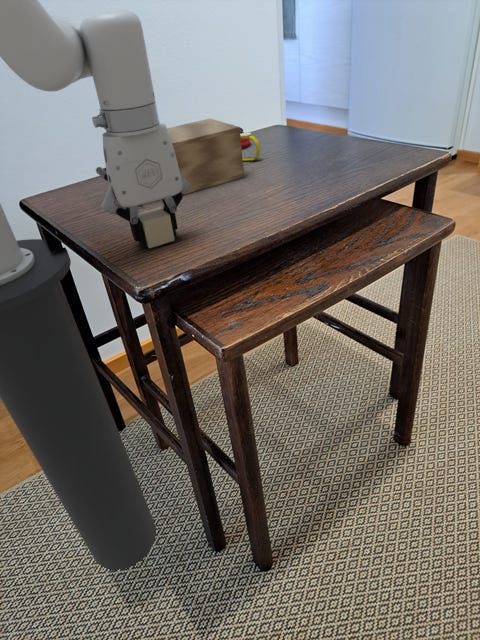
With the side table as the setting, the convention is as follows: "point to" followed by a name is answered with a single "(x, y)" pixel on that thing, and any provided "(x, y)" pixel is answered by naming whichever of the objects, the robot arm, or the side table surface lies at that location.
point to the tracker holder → (244, 140)
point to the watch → (249, 135)
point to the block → (156, 227)
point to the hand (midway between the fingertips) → (156, 237)
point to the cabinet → (207, 152)
